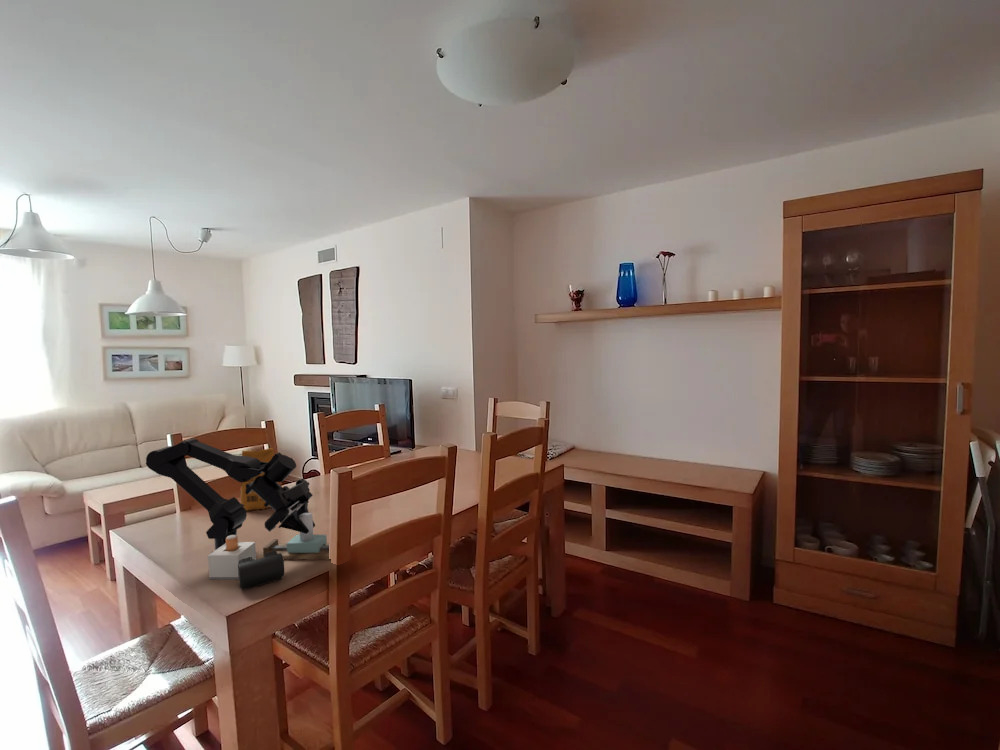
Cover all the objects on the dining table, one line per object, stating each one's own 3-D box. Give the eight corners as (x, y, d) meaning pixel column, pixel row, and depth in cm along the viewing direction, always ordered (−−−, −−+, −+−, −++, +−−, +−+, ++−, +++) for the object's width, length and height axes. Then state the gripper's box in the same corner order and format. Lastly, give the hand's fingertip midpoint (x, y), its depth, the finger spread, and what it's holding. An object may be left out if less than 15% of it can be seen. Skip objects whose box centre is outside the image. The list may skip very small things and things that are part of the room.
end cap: (241, 595, 113) (239, 569, 112) (237, 583, 118) (236, 558, 118) (285, 582, 118) (283, 557, 118) (280, 572, 124) (278, 547, 124)
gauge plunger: (223, 551, 123) (223, 538, 123) (230, 546, 126) (229, 534, 125) (234, 551, 123) (233, 538, 122) (240, 546, 126) (239, 534, 125)
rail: (261, 559, 131) (261, 549, 131) (276, 547, 139) (275, 537, 139) (335, 559, 131) (335, 549, 130) (346, 547, 139) (345, 537, 138)
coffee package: (243, 504, 178) (240, 448, 177) (278, 500, 182) (275, 445, 181) (238, 513, 169) (234, 454, 167) (275, 508, 173) (272, 450, 172)
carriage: (287, 552, 132) (285, 518, 131) (297, 543, 138) (295, 511, 137) (318, 552, 132) (316, 518, 131) (326, 543, 138) (325, 511, 137)
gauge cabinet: (209, 579, 121) (207, 555, 120) (228, 564, 129) (227, 542, 128) (239, 579, 120) (237, 555, 120) (256, 564, 128) (255, 541, 128)
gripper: (273, 483, 124) (315, 523, 124) (305, 464, 143) (341, 499, 143) (246, 511, 125) (288, 551, 125) (281, 489, 144) (317, 524, 144)
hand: (311, 529), depth 134 cm, fingers closed on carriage, 4 cm apart
